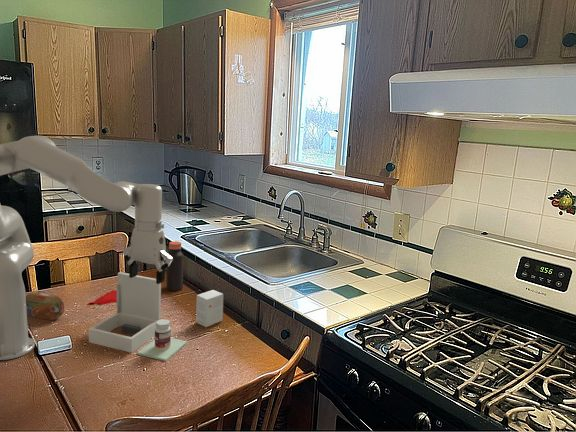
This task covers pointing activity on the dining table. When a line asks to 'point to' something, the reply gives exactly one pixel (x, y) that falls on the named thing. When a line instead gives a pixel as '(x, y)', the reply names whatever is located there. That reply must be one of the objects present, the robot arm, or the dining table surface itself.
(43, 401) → the dining table surface
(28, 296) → the tin
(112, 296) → the cloth
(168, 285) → the vinegar
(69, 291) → the dining table surface
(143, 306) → the equipment case
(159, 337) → the pill bottle
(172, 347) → the mat
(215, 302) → the small box
